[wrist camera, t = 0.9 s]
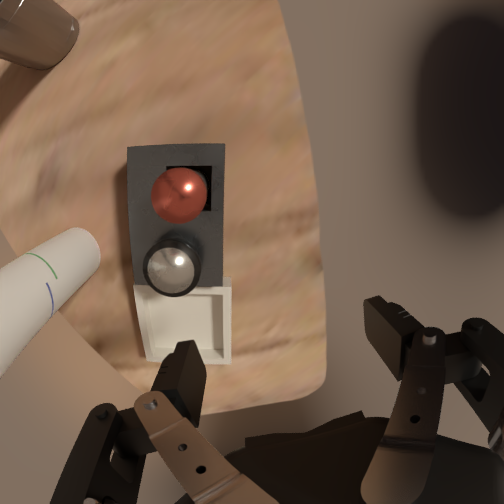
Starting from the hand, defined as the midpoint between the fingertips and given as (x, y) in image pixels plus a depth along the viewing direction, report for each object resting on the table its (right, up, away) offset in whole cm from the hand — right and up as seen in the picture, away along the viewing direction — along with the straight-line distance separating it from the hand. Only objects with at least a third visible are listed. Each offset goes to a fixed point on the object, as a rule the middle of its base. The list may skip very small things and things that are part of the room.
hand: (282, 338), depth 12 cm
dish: (-10, -5, +24) cm, 27 cm away
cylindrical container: (-25, +4, +20) cm, 32 cm away
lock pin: (-8, +12, +19) cm, 24 cm away
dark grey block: (-10, +9, +20) cm, 24 cm away
